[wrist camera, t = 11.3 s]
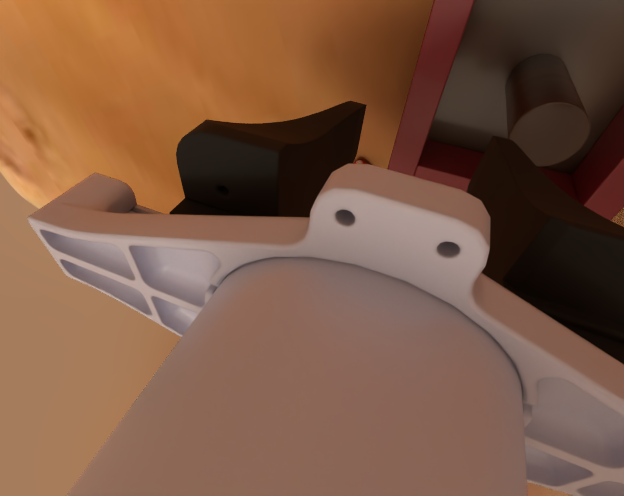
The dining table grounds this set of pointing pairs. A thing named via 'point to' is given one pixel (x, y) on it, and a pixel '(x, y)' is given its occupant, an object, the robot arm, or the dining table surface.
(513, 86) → the stand
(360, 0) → the dining table surface
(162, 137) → the dining table surface
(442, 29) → the square frame
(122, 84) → the dining table surface
